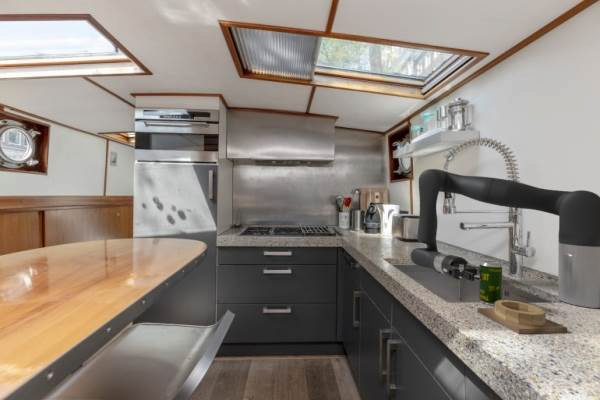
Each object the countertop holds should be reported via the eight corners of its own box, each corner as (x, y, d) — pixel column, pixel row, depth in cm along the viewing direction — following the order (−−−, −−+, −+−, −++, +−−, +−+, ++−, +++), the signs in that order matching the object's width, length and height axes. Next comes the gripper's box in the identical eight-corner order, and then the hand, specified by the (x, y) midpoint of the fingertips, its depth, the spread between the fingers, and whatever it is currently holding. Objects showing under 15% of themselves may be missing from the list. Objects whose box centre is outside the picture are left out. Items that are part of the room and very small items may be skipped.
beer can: (491, 300, 82) (492, 259, 82) (507, 306, 77) (507, 263, 77) (474, 300, 81) (475, 259, 82) (489, 307, 76) (489, 263, 76)
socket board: (518, 311, 73) (518, 298, 73) (567, 331, 61) (567, 316, 62) (477, 312, 72) (477, 298, 72) (518, 333, 60) (519, 317, 60)
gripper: (431, 254, 96) (464, 264, 80) (469, 254, 98) (508, 264, 82) (431, 276, 96) (464, 290, 80) (469, 275, 98) (508, 290, 81)
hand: (486, 277), depth 81 cm, fingers open, 8 cm apart
